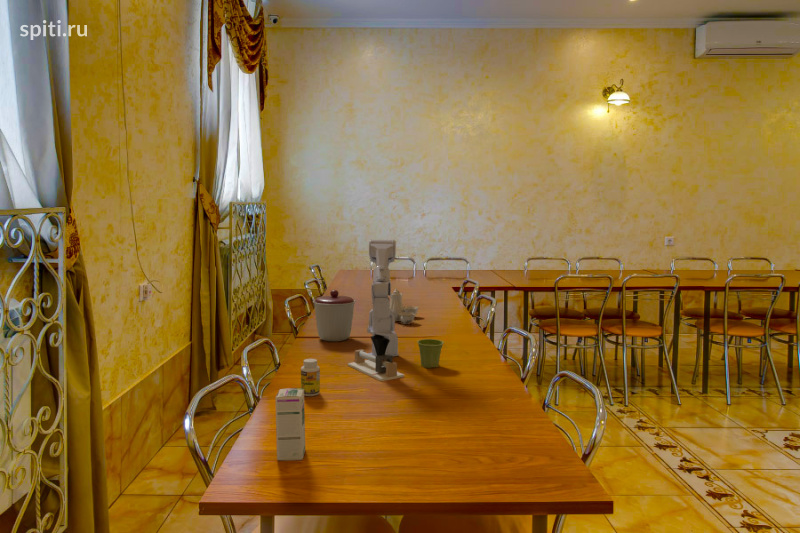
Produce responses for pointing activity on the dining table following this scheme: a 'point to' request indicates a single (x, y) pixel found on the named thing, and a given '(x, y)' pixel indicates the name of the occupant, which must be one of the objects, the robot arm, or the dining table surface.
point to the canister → (334, 316)
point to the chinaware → (402, 309)
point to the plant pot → (430, 352)
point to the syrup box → (290, 424)
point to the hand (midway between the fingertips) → (380, 357)
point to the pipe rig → (374, 366)
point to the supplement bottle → (310, 377)
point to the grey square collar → (379, 362)
